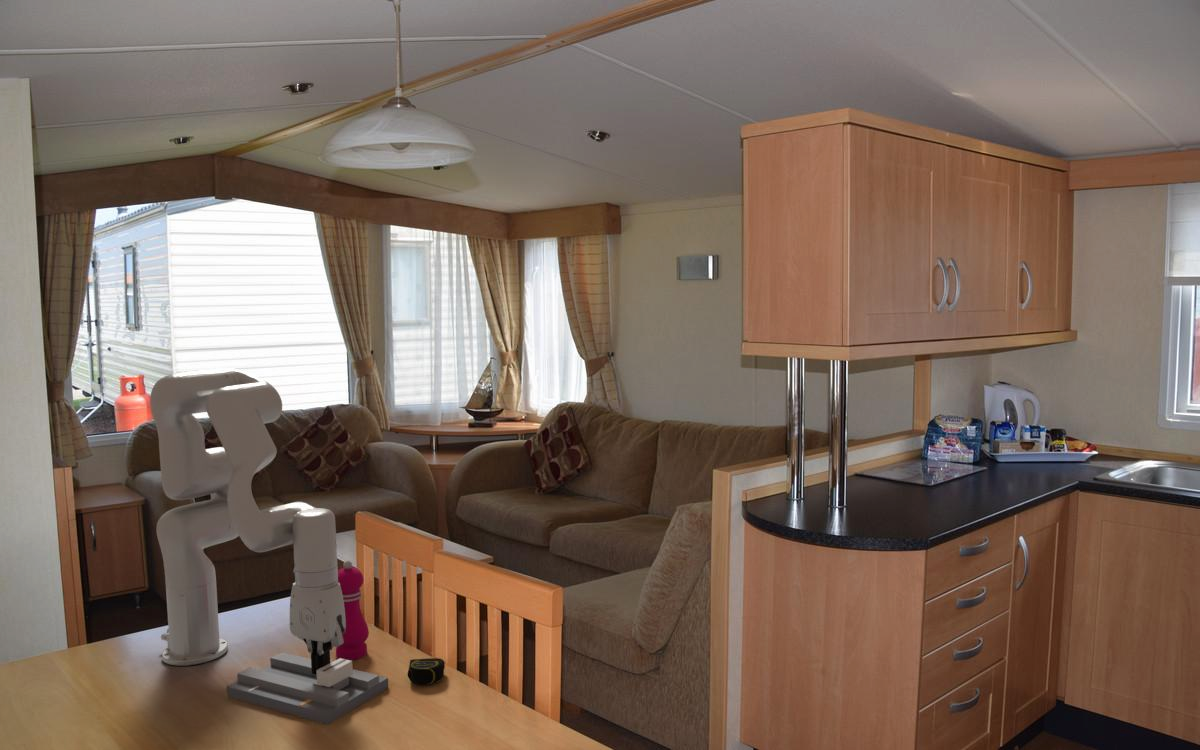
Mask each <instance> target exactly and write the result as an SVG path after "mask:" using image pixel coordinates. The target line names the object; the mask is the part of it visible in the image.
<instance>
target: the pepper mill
mask: <svg viewBox="0 0 1200 750" xmlns="http://www.w3.org/2000/svg"><path fill="white" fill-rule="evenodd" d="M342 567H343V568H340V569H338V583H340V587H341V591H342V595H343V601H344V608H345V619H346V629H345V633H344V634H343V635H342V637H343V641H344V643H343V644H342V645H340V646H338V647H335V657H336V659H339V658H341V659H346V660H350V661H353V660H354V661H355V660H358V659H362V658H363V657H365V656H367V654H368V644H367V643H366V641H367V640H368V638H369V635H370V634H369V633H370V632H369V627H368V622H367V621H366V619H365V617H364V616H363V613H362V610H361V605H360V601H361V598H362V590H361V587H362V586H363V584H364V576H363V573H362V571H361V570H360V569H358V568H356V567H353V562H352V561H350V560H345V561H344V562H343V565H342Z"/></svg>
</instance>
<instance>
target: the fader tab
mask: <svg viewBox="0 0 1200 750" xmlns="http://www.w3.org/2000/svg"><path fill="white" fill-rule="evenodd" d="M352 669H353V660H346V659H341V658H339V659H338V658H336V660H334V661H332V662H330V664H328V665H326V666H324V667H322V668H320V669H318V670H316V672H317V684H319V685H321V686H325V687H329V688H333V689H337V690H341V689H343V688H344V687H346V686H348V685H349V676H351V675H352V674H353V671H352Z"/></svg>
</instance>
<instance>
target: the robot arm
mask: <svg viewBox="0 0 1200 750" xmlns="http://www.w3.org/2000/svg"><path fill="white" fill-rule="evenodd" d="M149 398H150V399H149V401H150V402H149V403H150V404H149V406H150V410H151V414H152V418H153V422H154V423H155V426H156V427H155V428H156V431H157V435H158V449H159V461H160V463H159V464H160V478H161V486H162V488H163V489H162V490H163V492H164V494H165V495H166V497H167V498H169V499H171V500H173V501H174V500H175V501H185V500H189V499H190V500H191V499H196V498H200V497H204V496H208V495H210V499H208V500H203V501H197V502H193V503H190V504H185V505H180V506H177V507H174V508H172V509H169V510H167V511H165V513H163V514H162V515H161V516H160V517H159V519H158V520H157V523H156V527H155V528H156V536H157V537H156V538H157V540H158V544H159V548H160V550H161V551H160V553H161V555H162V560H163V561H162V562H163V569H164V580H165V592H166V609H167V611H166V612H167V623H168V624H167V625H168V628H167V630H166V633H165V632H163V633H162V634H161V635H160V636H161V637H160V638H161V640H162V641H166V642H167V643H166V644H167V647H166V648H165V649H164V650H163V651H162V653H161V659H162V662H164V663H165V664H167V665H171V666H176V667H178V666H180V667H182V666H193V665H198V664H205V663H207V662H211V661H213V660H216V659H218V658H220V657H221V656H223V655H224V654H225V653H226V652H228V649H229V645H228V644H229V643H228V642H227V640H226V639H224V638H220V626H219V623H220V622H219V612H218V611H219V610H218V609H219V608H218V592H217V591H218V590H217V578H216V569H215V566H214V564H213V561H212V560H211V559H210V558H209V557H208V556H207V555H206V553H205V552H204V549H206V548H209V547H212V546H216V545H219V544H222V543H227V542H228V541H232V540H235V539H236V538H238V537H239V538H240V540H241V542H243V544H244V545H245V547H246V548H248V549H249V550H251V551H252V552H256V553H266V552H268V551H272V550H275V549H276V550H277V549H279V548H282V547H286V546H290V545H293V560H294V568H293V570H292V571H293V574H294V578H295V579H294V582H293V583H292V586H291V591H290V598H289V599H290V600H289V631H290V633H291V635H292V636H295V637H296V638H298V639H300V640H301V641H303V642H304V643H305V645H306V647H307V648H306V649H307V652H308V653H309V654H310V659H311V668H312V674H314V675H315V674H316V675H317V672H316V670H318V669H320V668H322V667H324V666H326V665H328V664H330V663H331V652H330V651H333V648H336V647H338V646H340V645H342V644H343V643H344V641H343V637H342V635H343V634H344V633H345V629H346V619H345V608H344V601H343V595H342V591H341V587H340V583H338V571H339V569H338V552H337V550H338V549H337V547H338V546H337V530H336V516H335V513H334V512H333V510H331V509H329V508H325V507H324V508H323V507H315V506H314V505H311V504H310V503H307V502H304V501H294V502H290V503H286V504H281V505H280V504H279V505H276V506H272V507H269V508H265V509H261V510H260V509H259V507H258V504H257V503H256V501H255V498H254V496H253V493H252V492H253V491H252V482H253V481H252V480H253V478H254V475H255V474H256V473H258V472H260V471H261V470H263V469H264V468H265V467H267V466H268V465H269V464H270V463H271V462H272V461H273V460H274V459H275V458H276V455H277V453H278V450H277V447H276V445H275V443H274V440H273V439H272V437H271V435H270V433H269V431H268V429H267V427H266V425H265V424H270V423H274V422H275V421H277V420H278V419H279V418H280V417H281V415H282V412H283V400H282V397H281V395H280V393H279V392H278V391H277V389H276V388H275V387H274V386H273V385H272V384H271V383H269V382H267V381H266V380H264V379H262V378H260V377H256V376H254V375H252V374H250V373H247V372H244V371H242V370H239V369H236V368H228V367H227V368H214V369H205V370H204V369H203V370H191V371H184V372H183V371H182V372H177V373H171V374H169V375H166V376H163V377H161V378H159V379H158V380H157V381H156V382H155V383H154V384H153V387H152V389H151V392H150V397H149ZM200 413H207V416H208V418H209V420H210V422H211V424H212V426H213V429H214V432H216V435H217V437H218V439H219V441H220V443H221V445H222V446H217V447H210V448H206V444H205V443H206V442H205V432H204V429H203V427H202V425H201V423H200V422H199V420H198V419H197V418H196V417H195V416H194V414H200Z"/></svg>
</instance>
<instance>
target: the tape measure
mask: <svg viewBox="0 0 1200 750" xmlns="http://www.w3.org/2000/svg"><path fill="white" fill-rule="evenodd" d="M445 667H446V665H445V661H444V659H443V658H437V657H436V658H435V657H433V658H432V657H431V658H428V657H427V658H415V659H410V660H409V665H408V671H407V677H408V679H409V682H410V683H412V684H414V685H419V686H420V685H421V686H423V685H432V684H435V683H437V682H440V681H441V680H442V679H443V678H444V676H445V675H444V673H445Z"/></svg>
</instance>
